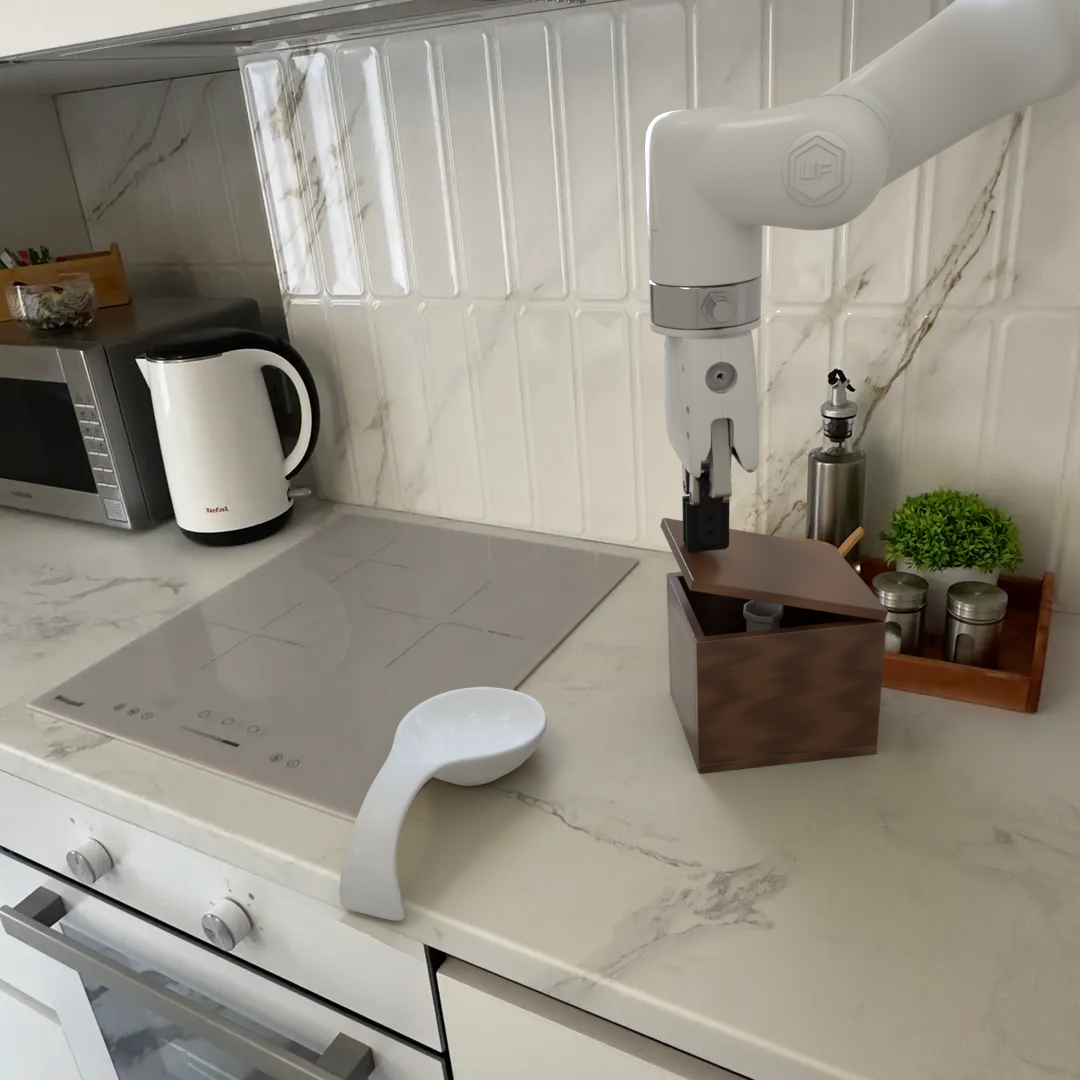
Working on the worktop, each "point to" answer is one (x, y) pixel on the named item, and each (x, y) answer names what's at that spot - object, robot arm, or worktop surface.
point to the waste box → (771, 682)
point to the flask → (762, 615)
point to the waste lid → (775, 572)
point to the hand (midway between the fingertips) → (705, 546)
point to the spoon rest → (418, 755)
